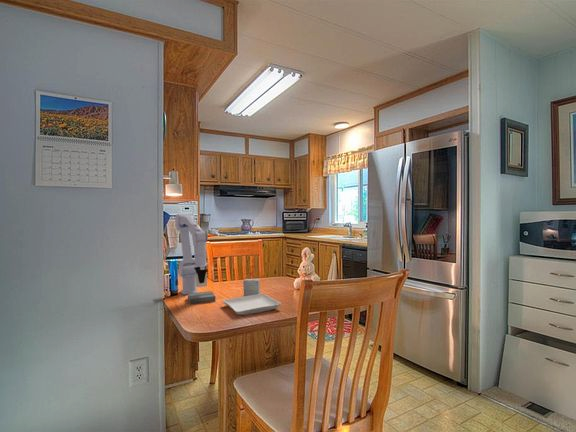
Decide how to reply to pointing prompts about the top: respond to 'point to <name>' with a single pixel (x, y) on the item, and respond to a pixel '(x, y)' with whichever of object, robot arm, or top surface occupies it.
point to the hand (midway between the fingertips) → (201, 281)
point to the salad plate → (252, 304)
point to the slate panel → (201, 297)
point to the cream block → (200, 283)
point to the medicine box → (251, 287)
